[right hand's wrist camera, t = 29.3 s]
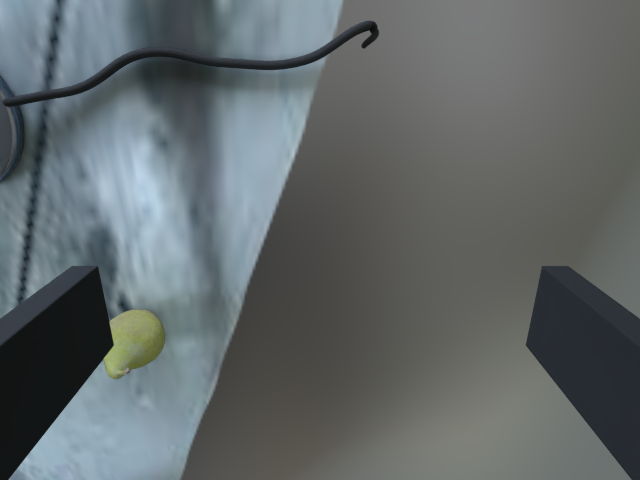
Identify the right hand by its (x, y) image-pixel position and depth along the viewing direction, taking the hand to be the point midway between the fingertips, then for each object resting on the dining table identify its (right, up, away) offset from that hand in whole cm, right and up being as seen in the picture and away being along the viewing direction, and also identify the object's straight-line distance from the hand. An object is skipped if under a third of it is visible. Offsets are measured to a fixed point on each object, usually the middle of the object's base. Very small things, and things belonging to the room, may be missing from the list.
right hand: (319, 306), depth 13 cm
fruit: (-21, -8, +39) cm, 45 cm away
